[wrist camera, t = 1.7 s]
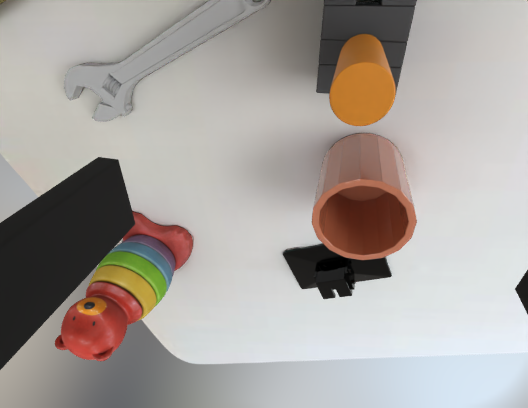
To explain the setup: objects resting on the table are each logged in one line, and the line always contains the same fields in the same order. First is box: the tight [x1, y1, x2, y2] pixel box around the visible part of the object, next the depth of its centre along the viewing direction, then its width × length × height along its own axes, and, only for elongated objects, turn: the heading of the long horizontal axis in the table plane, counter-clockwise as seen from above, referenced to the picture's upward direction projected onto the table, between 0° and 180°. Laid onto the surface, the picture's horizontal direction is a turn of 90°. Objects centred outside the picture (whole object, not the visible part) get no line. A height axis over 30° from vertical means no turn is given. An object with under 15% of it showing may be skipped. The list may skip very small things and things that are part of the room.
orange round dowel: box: [329, 34, 396, 126], centre depth 22 cm, size 3×3×16 cm
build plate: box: [283, 244, 392, 299], centre depth 41 cm, size 12×7×5 cm, turn 116°
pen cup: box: [312, 133, 417, 260], centre depth 31 cm, size 8×8×10 cm
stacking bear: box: [55, 211, 193, 361], centre depth 42 cm, size 11×10×18 cm
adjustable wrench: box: [64, 0, 271, 122], centre depth 32 cm, size 25×6×2 cm, turn 113°
